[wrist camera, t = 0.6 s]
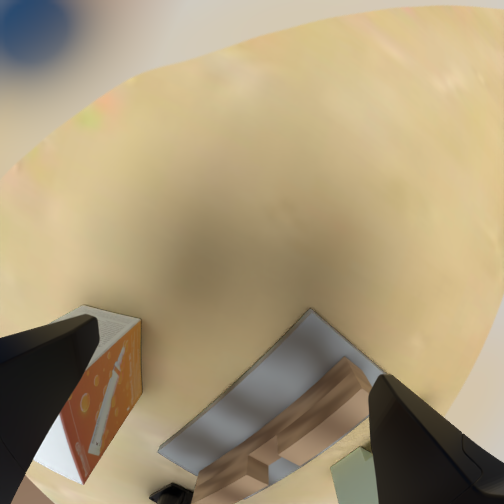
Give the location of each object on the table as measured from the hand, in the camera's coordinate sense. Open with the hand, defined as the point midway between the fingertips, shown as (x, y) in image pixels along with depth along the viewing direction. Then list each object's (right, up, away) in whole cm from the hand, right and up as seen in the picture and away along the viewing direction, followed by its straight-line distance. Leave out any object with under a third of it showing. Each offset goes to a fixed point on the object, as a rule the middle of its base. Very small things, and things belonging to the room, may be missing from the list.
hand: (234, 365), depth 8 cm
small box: (-12, -6, +16) cm, 21 cm away
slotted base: (+2, -13, +16) cm, 21 cm away
